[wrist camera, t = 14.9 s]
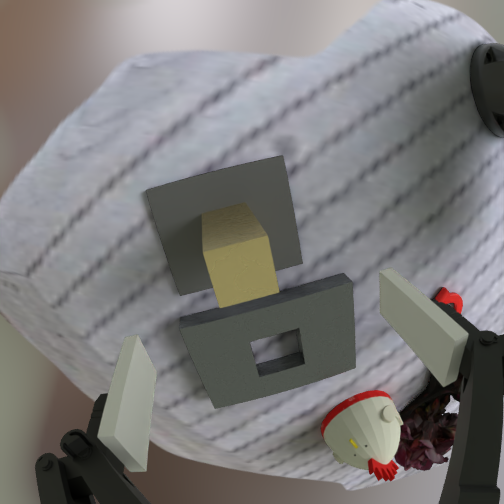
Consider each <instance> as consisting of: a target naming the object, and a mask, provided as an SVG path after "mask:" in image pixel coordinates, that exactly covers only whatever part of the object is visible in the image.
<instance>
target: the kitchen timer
mask: <svg viewBox="0 0 504 504" xmlns="http://www.w3.org/2000/svg"><path fill="white" fill-rule="evenodd" d="M400 425H403V422H402V419H401V417H400V415H399V413H398V411H397V410H396V407H395V405H394V403H393V401H392V399H391V398H390V396H389V395H388V394H387V393H385V392H384V391H378V390H374V391H366V392H363V393H360V394H357V395H355V396H353V397H351V398H349V399H346V400H345V401H343V402H342V403H340V404H339V405H337V406H336V407H335V408H334V409H333V410H332V411H331V412H329V413H328V415H327V416H326V417H325V419H324V420H323V422H322V425H321V433H322V436H323V438H324V440H325V442H326V444H327V445H328V446H329V447H330V448H331V450H332V451H333V456H334V458H335V459H336V460H337V462H339V463H340V464H343V462H345V463H347V464H349V465H351V466H353V467H356V468H359V469H364V470H369V474H370V475H371V474H372V473H373V472H374V474H375V476H376V478H377V479H378V481H379V480H380V479H382V478H383V479H384V480H385V481H387V480H388V479H389V480H390V481H392V480H393V479H394V478H395V477H394V475H395V474H397V471H396V470H397V469H399V468H398V466H397V465H396V464H395V463H394V461H393V460H392V458H393V457H394V455H395V454H396V451H397V449H398V445H399V441H400V432H401V430H400Z"/></svg>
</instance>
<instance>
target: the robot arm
mask: <svg viewBox="0 0 504 504" xmlns="http://www.w3.org/2000/svg"><path fill="white" fill-rule="evenodd" d="M470 75H471V86H472V91H473V96H474V99H475V103H476V105H477V108H478V111H479V113H480V115H481V117H482V119H483V121H484V122H485V124H486V125H487V127H488V128H489V129H490V130H491V131H492V132H493V133H494V134H495V135H497V136H499V137H503V138H504V45H502V44H498V43H490V44H483V45H481V46H479V47H478V48H477V49H476V50H475V52H474V54H473V57H472V61H471V69H470ZM379 277H380V314H381V315H382V316H383V317H384V318H385V319H386V320H387V322H388V323H389V324H390V325H391V326H392V327H393V328H394V329H395V331H396V332H397V333H398V334H399V335H400V336H401V337H402V339H403V340H404V341H405V342H406V343H407V344H408V346H409V347H410V348H411V349H412V350H413V351H414V353H415V354H416V355H417V356H418V357H419V358H420V360H421V361H422V362H423V363H424V364H425V366H426V367H427V368H428V369H429V370H430V372H431V373H432V374H433V375H434V376H435V378H436V379H437V380H438V381H439V382H440V384H441V385H442V386H443V387H445V386H447V385H449V384H450V383H452V382H454V381H456V379H457V376H458V373H459V371H460V372H461V373H462V375H463V379H462V382H461V385H460V388H459V391H458V392H461V396H460V405H459V412H458V419H457V426H456V432H455V438H454V443H453V448H452V453H451V458H450V462H449V467H448V471H447V475H446V479H445V483H444V487H443V490H442V494H441V497H440V501H439V504H499V500H500V489H499V488H498V487H497V486H496V485H497V477H498V469H499V462H500V453H501V442H502V441H501V440H502V427H503V395H504V334H503V335H499V336H498V335H497V334H496V333H494V332H492V331H487V330H486V331H479V330H478V329H477V328H476V327H475V326H474V325H472V324H471V323H470V322H469V321H468V320H467V319H466V318H464V317H462V315H461V314H460V313H458V312H457V311H456V310H455V309H454V308H452V307H451V306H450V305H448V304H445V303H443V302H439V303H437V304H435V303H433V302H432V301H431V300H430V299H429V298H428V297H426V296H425V295H424V294H423V293H422V292H420V291H419V290H418V289H417V288H416V287H414V286H413V285H412V284H411V283H410V282H408V281H407V280H406V279H405V278H403V277H402V276H401V275H400V274H399V273H397V272H396V271H395V270H394V269H392V268H388V269H385V270H382V271H379ZM156 377H157V371H156V370H155V368H154V366H153V364H152V362H151V360H150V358H149V356H148V354H147V352H146V350H145V348H144V346H143V344H142V342H141V340H140V338H139V336H138V335H134V336H129V337H125V339H124V342H123V345H122V349H121V352H120V355H119V358H118V362H117V365H116V368H115V372H114V375H113V379H112V382H111V386H110V389H109V393H107V394H101V395H100V396H99V397H98V399H97V400H96V401H95V404H94V407H93V412H92V414H91V419H90V421H89V425H88V428H87V433H85V432H83V431H82V430H79V429H75V430H71V431H69V432H67V433H66V434H65V435H64V436H63V438H62V439H61V443H60V446H61V449H62V450H63V452H64V453H65V454H66V455H67V457H63V458H60V459H58V458H57V457H56V456H55V455H54V454H52V453H46V454H43V455H42V456H40V457H39V459H38V460H37V462H36V465H35V470H36V478H37V485H38V490H39V496H40V501H41V504H96V502H95V499H94V497H93V494H94V496H95V497H96V499H97V500H98V502H99V503H100V504H151V503H150V502H149V501H148V500H147V499H146V498H145V497H144V495H143V494H142V493H141V492H140V491H139V490H138V489H137V488H136V486H135V485H134V484H133V483H132V482H131V481H130V480H129V478H128V477H127V476H126V475H125V474H124V473H123V471H124V466H125V467H126V468H127V469H128V470H129V471H130V472H141V471H146V468H147V457H148V446H149V436H150V426H151V417H152V408H153V400H154V392H155V384H156Z"/></svg>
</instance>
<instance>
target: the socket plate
mask: <svg viewBox="0 0 504 504" xmlns="http://www.w3.org/2000/svg"><path fill="white" fill-rule="evenodd" d="M294 329H296V333H297V339H298V345H299V351H300V352H299V353H296V354H292V355H289V356H285V357H282V358H279V359H275V360H271V361H268V362H264V363H261V364H257V365H256V363H255V359H254V356H253V352H252V349H251V345H250V342H251V341H255V340H258V339H262V338H266V337H269V336H273V335H276V334H280V333H283V332H287V331H290V330H294ZM179 330H180V332H181V334H182V337H183V339H184V342H185V344H186V346H187V349H188V351H189V353H190V356H191V358H192V360H193V362H194V365H195V367H196V369H197V371H198V374H199V376H200V378H201V380H202V382H203V385H204V387H205V389H206V391H207V393H208V395H209V397H210V399H211V402H212V404H213V406H214V408H215V409H216V408H221V407H225V406H230V405H234V404H238V403H242V402H247V401H251V400H255V399H258V398H262V397H266V396H270V395H273V394H277V393H281V392H284V391H288V390H291V389H294V388H298V387H301V386H304V385H307V384H310V383H314V382H317V381H320V380H323V379H326V378H329V377H332V376H335V375H337V374H340V373H343V372H346V371H349V370H351V369H354V368H356V353H355V321H354V301H353V285H352V281H351V280H350V279H349V278H348V277H347V276H346V275H345V274H344V273H341V274H338V275H335V276H331V277H328V278H325V279H321V280H318V281H314V282H311V283H308V284H304V285H301V286H297V287H294V288H290V289H287V290H283V291H279V293H275V294H272V295H268V296H264V297H261V298H257V299H253V300H250V301H246V302H242V303H238V304H235V305H231V306H227V307H223V308H216V309H212V310H208V311H204V312H200V313H196V314H192V315H188V316H184V317H180V328H179Z"/></svg>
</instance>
